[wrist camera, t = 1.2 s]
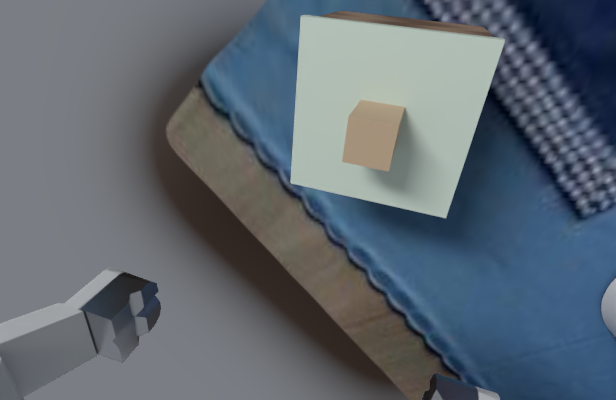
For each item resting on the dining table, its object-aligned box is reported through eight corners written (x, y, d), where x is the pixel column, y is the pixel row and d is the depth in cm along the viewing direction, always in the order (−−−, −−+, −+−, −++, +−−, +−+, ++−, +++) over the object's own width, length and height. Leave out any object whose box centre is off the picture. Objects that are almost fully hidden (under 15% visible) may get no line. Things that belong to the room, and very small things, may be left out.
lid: (502, 38, 22) (516, 49, 18) (445, 211, 28) (446, 249, 24) (305, 14, 25) (278, 20, 21) (294, 177, 31) (271, 206, 27)
